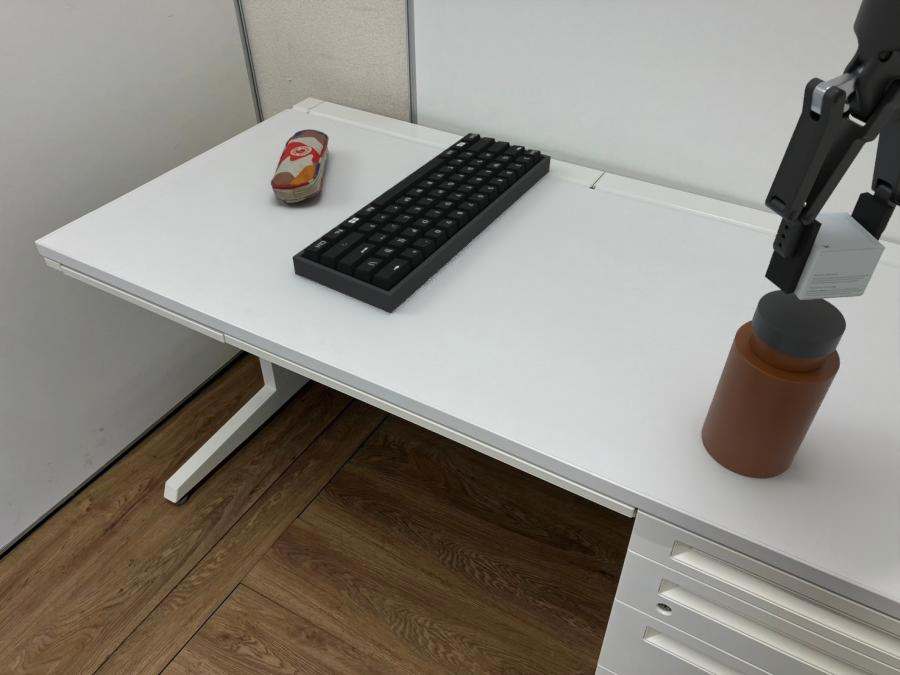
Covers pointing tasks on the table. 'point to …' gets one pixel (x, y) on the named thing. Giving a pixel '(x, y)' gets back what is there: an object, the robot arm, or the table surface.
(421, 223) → the computer keyboard
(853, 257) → the small box
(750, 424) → the bottle
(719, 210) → the table surface
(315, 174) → the pencil case
